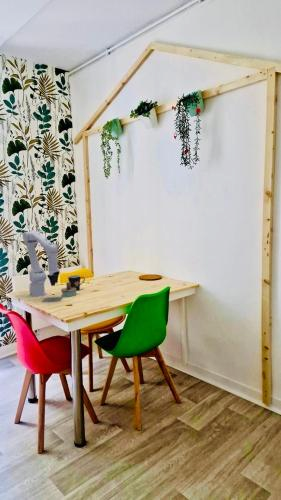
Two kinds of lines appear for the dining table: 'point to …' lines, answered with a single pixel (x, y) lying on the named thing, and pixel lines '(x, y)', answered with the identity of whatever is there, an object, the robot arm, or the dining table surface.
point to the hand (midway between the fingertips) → (54, 284)
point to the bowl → (68, 294)
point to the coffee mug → (75, 281)
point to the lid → (68, 288)
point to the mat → (52, 299)
